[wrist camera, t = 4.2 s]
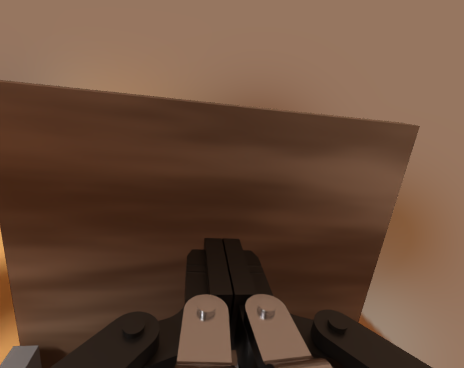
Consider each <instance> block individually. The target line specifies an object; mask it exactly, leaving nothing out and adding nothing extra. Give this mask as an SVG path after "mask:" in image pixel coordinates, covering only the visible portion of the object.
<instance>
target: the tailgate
mask: <svg viewBox="0 0 464 368" xmlns="http://www.w3.org/2000/svg"><path fill="white" fill-rule="evenodd" d="M418 130H419V126H416V125H411V124H405V123H399V122H389V121H380V120H370V119H361V118H352V117H341V116H333V115H323V114H314V113H304V112H295V111H286V110H276V109H267V108H257V107H247V106H239V105H229V104H220V103H211V102H201V101H191V100H182V99H173V98H164V97H154V96H144V95H136V94H126V93H117V92H107V91H98V90H88V89H79V88H69V87H60V86H50V85H41V84H32V83H23V82H13V81H3V80H0V228H1V234H2V240H3V246H4V252H5V258H6V264H7V270H8V276H9V282H10V288H11V294H12V300H13V306H14V312H15V318H16V324H17V330H18V336H19V342H20V346H37V345H39V352H40V359H41V366H42V368H50V367H52V366H53V365H54V364H56V363H57V362H58V361H60V360H61V359H63V358H64V357H65V356H67V355H68V354H69V353H71V352H72V351H73V350H75V349H76V348H77V347H79V346H80V345H82V344H83V343H84V342H86V341H87V340H88V339H90V338H91V337H92V336H94V335H95V334H96V333H98V332H99V331H101V330H102V329H103V328H105V327H106V326H107V325H109V324H110V323H111V322H113V321H114V320H115V319H117V318H118V317H120V316H122V315H124V314H127V313H130V312H136V311H141V312H146V313H149V314H151V315H153V316H154V317H155V318H156V319H157V320H158V321H160V320H163V319H167V318H170V317H172V316H174V315H175V314H177V313H178V312H179V311H180V310H181V309H182V308H183V306H184V297H185V276H186V262H187V255H188V254H189V253H190V251H191V250H192V249H203V247H204V239H205V238H231V239H240V242H241V245H242V248H243V250H251V251H252V252H253V253H254V254H255V255H256V256H257V257H258V258H259V260H260V263H261V265H262V266H261V267H262V268H263V270H264V274H265V276H266V278H267V281H268V283H269V286H270V288H271V291H272V293H273V296H274V297H275V298H277V299H279V300H280V301H281V302H283V304H284V305H285V306H286V308H287V310H288V312H289V313H291V314H293V315H296V316H300V317H304V318H308V319H312V320H314V317H315V314H316V313H317V312H319V311H321V310H326V309H328V310H335V311H338V312H340V313H343V314H345V315H346V316H348V317H350V318H351V319H353V320H355V321H356V322H358V321H359V318H360V315H361V312H362V308H363V305H364V302H365V299H366V296H367V292H368V289H369V286H370V283H371V279H372V277H373V273H374V270H375V267H376V264H377V261H378V257H379V254H380V251H381V248H382V245H383V241H384V238H385V235H386V232H387V229H388V225H389V222H390V219H391V216H392V213H393V209H394V206H395V203H396V200H397V197H398V193H399V190H400V187H401V183H402V181H403V177H404V174H405V171H406V168H407V165H408V162H409V158H410V155H411V152H412V149H413V146H414V142H415V139H416V136H417V133H418ZM231 358H232V365H235V366H236V362H237V354H236V350H231Z"/></svg>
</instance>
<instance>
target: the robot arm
mask: <svg viewBox="0 0 464 368" xmlns="http://www.w3.org/2000/svg"><path fill="white" fill-rule="evenodd" d="M261 266H262V265H261V263H260V260H259V258H258V257H257V256H256V255H255V254H254V253H253V252H252V251H251V250H243V248H242V245H241V242H240V239H231V238H205V239H204V247H203V249H192V250H191V251H190V253H189V254H188V255H187V262H186V276H185V297H184V306H183V308H182V309H181V310H180V311H179V312H178V313H177V314H175V315H174V316H172V317H170V318H167V319H163V320H160V321H158V320H157V319H156V318H155V317H154V316H153V315H151V314H149V313H146V312H141V311H136V312H130V313H127V314H124V315H122V316H120V317H118V318H117V319H115V320H114V321H113V322H111V323H110V324H109V325H107V326H106V327H105V328H103V329H102V330H101V331H99V332H98V333H96V334H95V335H94V336H92V337H91V338H90V339H88V340H87V341H86V342H84V343H83V344H82V345H80V346H79V347H77V348H76V349H75V350H73V351H72V352H71V353H69V354H68V355H67V356H65V357H64V358H63V359H61V360H60V361H58V362H57V363H56V364H54V365H53V366H52V367H50V368H431V367H430V366H429V365H427V364H425V363H423V362H422V361H420V360H419V359H417V358H415V357H414V356H412V355H410V354H409V353H407V352H406V351H404V350H402V349H401V348H399V347H397V346H396V345H394V344H392V343H391V342H389V341H387V340H386V339H384V338H382V337H381V336H379V335H378V334H376V333H374V332H373V331H371V330H369V329H368V328H366V327H364V326H363V325H361V324H359V323H358V322H356V321H355V320H353V319H351V318H350V317H348V316H346V315H345V314H343V313H340V312H338V311H335V310H328V309H326V310H321V311H319V312H317V313H316V314H315V317H314V320H312V319H308V318H304V317H300V316H296V315H293V314H291V313H289V312H288V310H287V308H286V306H285V305H284V304H283V302H281V301H280V300H279V299H277V298H275V297H274V296H273V293H272V291H271V288H270V286H269V283H268V281H267V278H266V276H265V274H264V270H263V268H262V267H261ZM231 350H236V354H237V362H236V367H235V365H232V358H231Z"/></svg>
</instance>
